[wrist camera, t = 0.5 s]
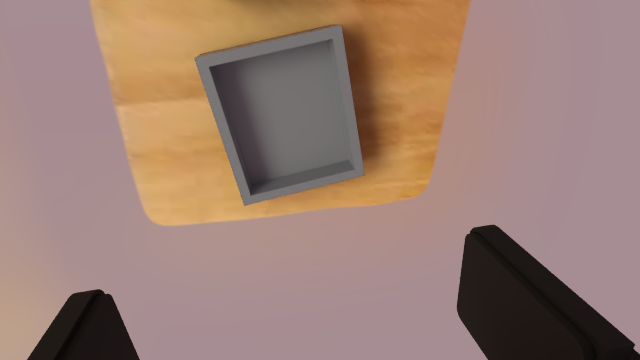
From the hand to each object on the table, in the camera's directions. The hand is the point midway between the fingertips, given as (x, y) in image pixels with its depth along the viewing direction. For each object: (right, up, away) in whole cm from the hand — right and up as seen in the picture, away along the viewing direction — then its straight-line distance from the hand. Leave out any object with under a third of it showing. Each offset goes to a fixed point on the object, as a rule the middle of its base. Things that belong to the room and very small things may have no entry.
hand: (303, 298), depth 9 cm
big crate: (-3, +11, +30) cm, 32 cm away
